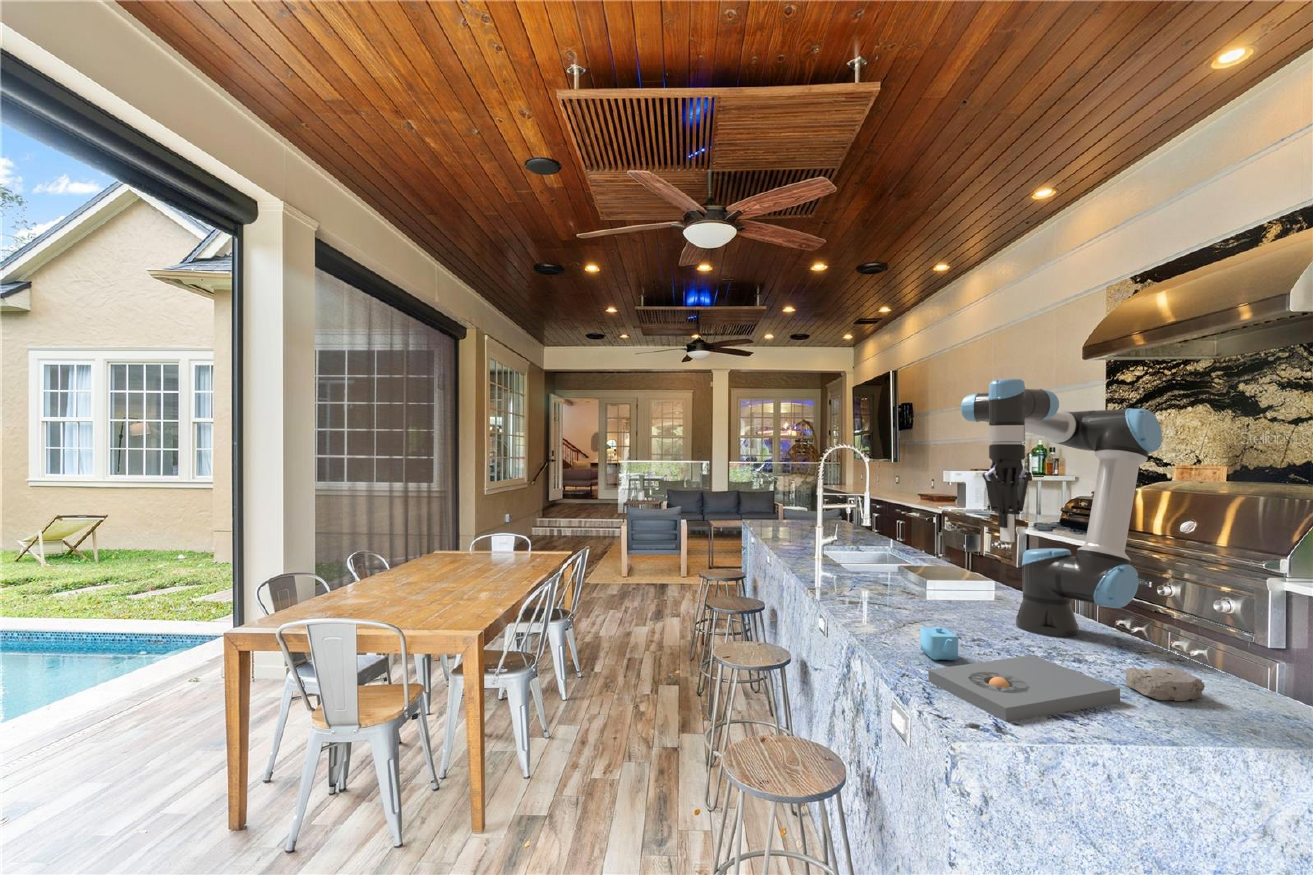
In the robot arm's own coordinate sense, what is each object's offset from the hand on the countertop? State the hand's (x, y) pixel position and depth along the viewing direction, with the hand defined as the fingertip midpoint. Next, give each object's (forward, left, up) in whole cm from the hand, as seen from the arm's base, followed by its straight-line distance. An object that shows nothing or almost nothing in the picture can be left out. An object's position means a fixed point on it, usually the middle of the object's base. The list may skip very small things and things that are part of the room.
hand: (1007, 541), depth 145 cm
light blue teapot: (+13, -7, -30) cm, 33 cm away
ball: (+18, +14, -27) cm, 36 cm away
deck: (+12, +14, -29) cm, 35 cm away
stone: (-17, +18, -27) cm, 37 cm away
